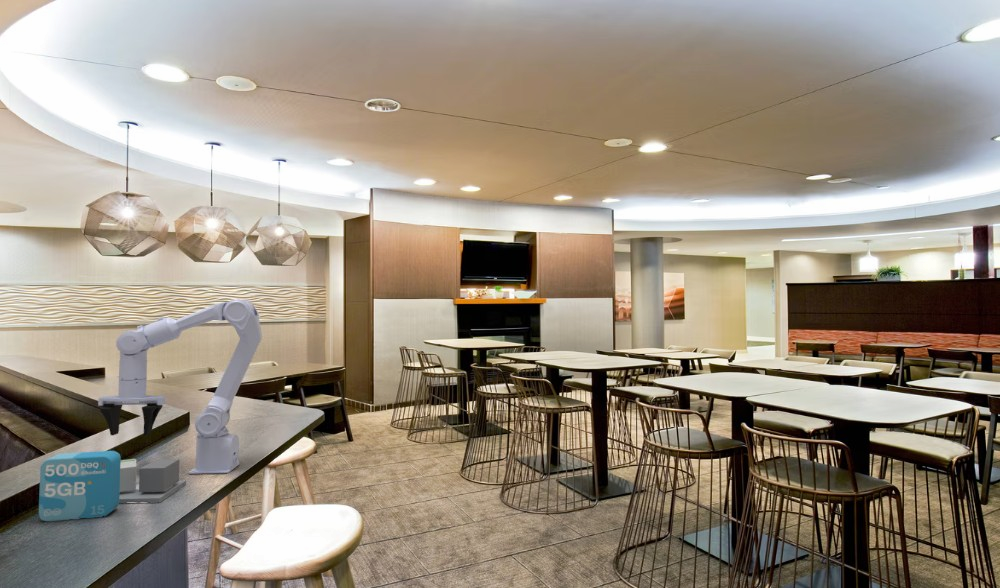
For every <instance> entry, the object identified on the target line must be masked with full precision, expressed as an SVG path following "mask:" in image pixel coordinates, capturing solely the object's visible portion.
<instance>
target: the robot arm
mask: <svg viewBox="0 0 1000 588" xmlns="http://www.w3.org/2000/svg"><path fill="white" fill-rule="evenodd" d="M211 321H222V322H223V321H227V322H228V323H229V324H230V325H231V326H232V327H233V328H234V329H235V331H236V333H237V335H238V337H239V341H238V343H237V344H236V347H235V349H234V352H233V354H232V356H231V358H230V360H229V363H228V364H227V366H226V369H225V370H224V373H223V375H222V377H221V380H220V381H219V384H218V385H217V387H216V390H215V391H214V395H213V396H212V397H211V399H210V401H209V402H208V403H207V406H206V407H205V409H204V411H202V412H201V413H200V414H199V415H198V416H196V419H195V422H194V428H195V430H196V432H197V433H196V446H195V447H196V449H195V467H194V468H192V469H191V470H189V472H188V475H189V474H192V475H193V474H194V475H195V474H196V475H197V474H199V475H200V474H228V473H230V472H232V471H233V470H234V469H236V468H237V467H238V466H239V465H240V462H239V456H240V455H239V454H240V452H239V451H240V440H239V439H240V438H239V436H238V434H231V433H229V430H228V428H227V424H228V423H229V422H230V419H231V414H230V411H231V409H232V407H233V401H234V399H235V396H236V394H237V393H238V391H239V388H240V386H241V385H242V382H243V380H244V378H245V375H246V373H247V371H248V369H249V368H250V365H251V362H252V361H253V358H254V356H255V354H256V352H257V350H258V348H259V345H260V343H261V341H262V339H263V334H262V333H263V332H262V328H261V323H260V313H259V311H258V310H257V308H256V307H255V305H254V304H253V303H252V302H251V301H249V300H247V299H239V298H238V299H237V298H236V299H232V300H229V301H225V302H220V303H216V304H213V305H210V306H208V307H205V308H203V309H200V310H198V311H195V312H193V313H190V314H187V315H185V316H182V317H181V318H180V317H179V318H178V319H175V318H172V317H169V316H168V317H164V316H160V317H158V318H157V319H156V321H155V322H151V323H150V324H149V323H148V324H146V325H141V324H140V325H137V327H136V328H137V329H136V330H132V329H130V330H126V331H125V332H123V333H121V334H119V336H118V337H117V338H116V341H115V345H116V348H117V350H118V351H119V361H118V362H119V363H118V395H113V396H112V395H111V396H109V395H108V396H101V397H98V399H97V400H98V401H97V405H98V406H99V407H100V408H99V412H100V413H101V414H102V416H103V417H104V419H105V421H106V424H107V426H108V429H109V433H110V436H115V435H118V434H119V431H120V417H121V411H122V407H123V406H124V405H125V406H127V405H128V406H136V405H137V406H139V405H140V406H142V407H141V410H142V411H141V412H142V416H143V435H144V436H147V435H150V434H152V430H153V427H154V424H155V421H156V418H157V417H158V414H159V413H160V412H161V410H162V408H163V406H164V405H165V404H166V396H165V395H148V394H147V374H148V372H147V371H148V369H147V368H148V367H147V366H148V350H149V349H150V348H151V349H152V348H155V347H158V346H161V345H163V344H165V343H170V342H171V341H174V340H176V339H179V337H180V336H181V334H182V332H183V331H185V330H188V329H192V328H195V327H197V326H200V325H203V324H206V323H208V322H211ZM143 405H144V406H143ZM101 406H102V407H101Z"/></svg>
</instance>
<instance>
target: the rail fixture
mask: <svg viewBox="0 0 1000 588" xmlns="http://www.w3.org/2000/svg"><path fill="white" fill-rule="evenodd" d="M138 471H139V473H138V474H139V476H138V478H139V479H138V481H136V490H130V491H123V492H120V495H119V503H127V502H150V503H149V504H161V503H162V502H163V501H165V500H166V499H168V498H169V497H170V496H172V495H173V494H175V493H176V492H178V491H179V490H180V489H182V488H183V487H185V486H186V485H187V480H185V479H184V480H180V459H179V458H177V459H176V458H174V459H173V458H172V459H171V458H170V459H155V460H153V461H151V462H149V463H147V464H145V465H144V466H143V465H142V467H140V468H139V470H138ZM164 499H165V500H164ZM158 502H159V503H158Z"/></svg>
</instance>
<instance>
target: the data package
mask: <svg viewBox="0 0 1000 588" xmlns="http://www.w3.org/2000/svg"><path fill="white" fill-rule="evenodd" d="M121 460H122V457H121V454H120V453H119V452H117V451H115V450H105V451H104V450H101V451H86V452H85V451H81V452H61V453H57V454H56V455H54V456H52V457H49V458H47V459H45V460H44V461H43V462H42V463H41V464H40V466H39V467H40V468H39V469H40V471H39V472H40V473H39V492H38V493H39V494H38V495H39V496H38V498H39V499H38V517H39V518H40V520H42V521H43V522H60V521H61V522H62V521H70V520H69V519H74V520H77V519H76V518H87V519H95V518H94V517H100V518H102V517H101V516H104V517H106V516H108V515H109V514H110V513H111V512H113V511H114V510H115V509H116V508H117V507H118V506H119V505H120V504H119V495H120V464H121Z"/></svg>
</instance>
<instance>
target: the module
mask: <svg viewBox="0 0 1000 588" xmlns="http://www.w3.org/2000/svg"><path fill="white" fill-rule="evenodd" d="M136 482H137V459H136V458H130V459H121V464H120V492H123V491H130V490H136Z"/></svg>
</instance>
